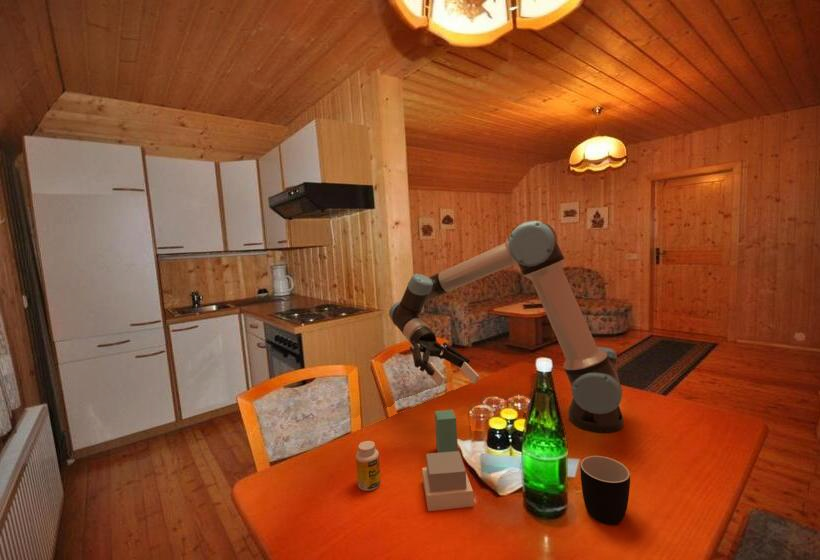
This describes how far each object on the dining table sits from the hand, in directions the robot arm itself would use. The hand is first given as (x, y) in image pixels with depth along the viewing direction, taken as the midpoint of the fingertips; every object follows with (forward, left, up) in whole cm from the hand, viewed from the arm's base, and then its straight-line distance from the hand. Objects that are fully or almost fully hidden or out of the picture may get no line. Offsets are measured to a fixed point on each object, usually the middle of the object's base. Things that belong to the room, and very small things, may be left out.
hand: (459, 381), depth 100 cm
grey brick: (+8, +17, -16) cm, 24 cm away
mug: (-23, +27, -20) cm, 41 cm away
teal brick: (+5, +1, -20) cm, 20 cm away
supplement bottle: (+26, +11, -20) cm, 34 cm away
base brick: (+8, +17, -20) cm, 27 cm away
